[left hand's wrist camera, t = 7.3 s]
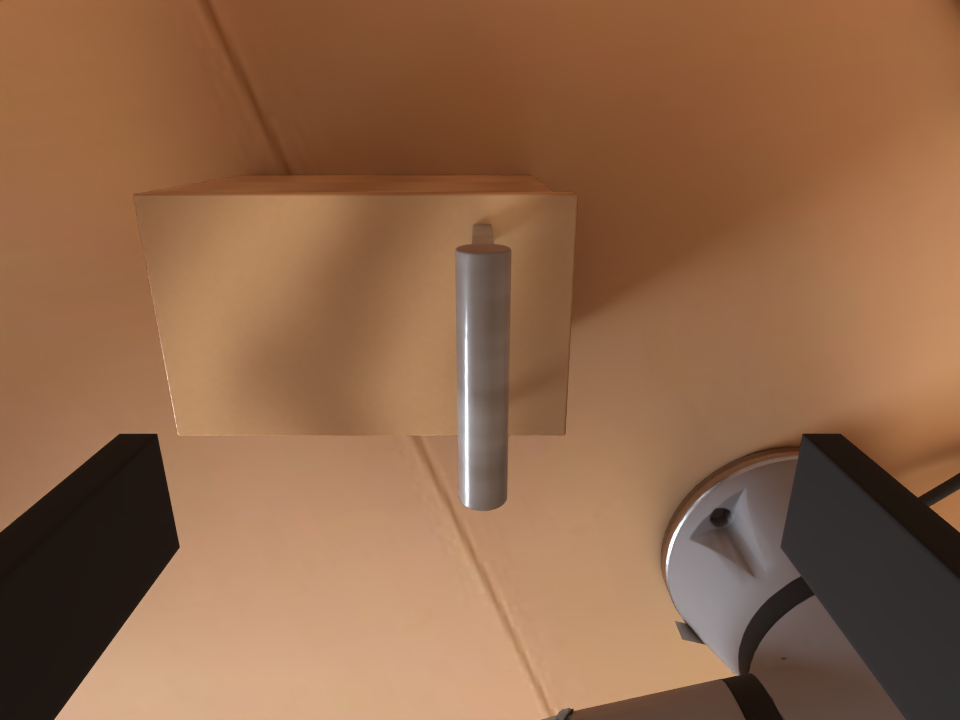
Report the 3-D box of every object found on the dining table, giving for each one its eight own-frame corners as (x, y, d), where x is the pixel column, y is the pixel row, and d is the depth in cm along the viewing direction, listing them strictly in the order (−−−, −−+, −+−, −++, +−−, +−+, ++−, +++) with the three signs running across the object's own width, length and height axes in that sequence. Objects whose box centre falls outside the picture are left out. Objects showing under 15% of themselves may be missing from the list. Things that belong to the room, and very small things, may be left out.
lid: (574, 191, 23) (618, 218, 16) (562, 426, 27) (594, 536, 19) (144, 191, 23) (-9, 217, 16) (186, 426, 27) (76, 536, 19)
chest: (532, 175, 33) (555, 191, 23) (528, 348, 36) (545, 426, 27) (243, 175, 33) (145, 191, 23) (265, 348, 36) (187, 426, 27)
